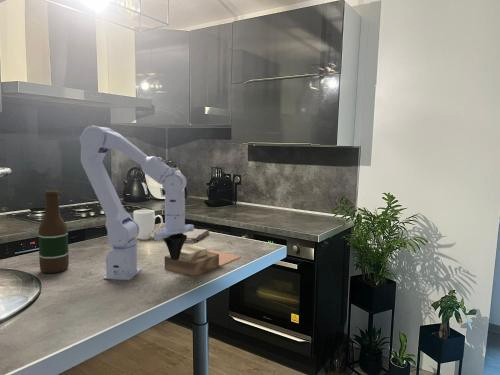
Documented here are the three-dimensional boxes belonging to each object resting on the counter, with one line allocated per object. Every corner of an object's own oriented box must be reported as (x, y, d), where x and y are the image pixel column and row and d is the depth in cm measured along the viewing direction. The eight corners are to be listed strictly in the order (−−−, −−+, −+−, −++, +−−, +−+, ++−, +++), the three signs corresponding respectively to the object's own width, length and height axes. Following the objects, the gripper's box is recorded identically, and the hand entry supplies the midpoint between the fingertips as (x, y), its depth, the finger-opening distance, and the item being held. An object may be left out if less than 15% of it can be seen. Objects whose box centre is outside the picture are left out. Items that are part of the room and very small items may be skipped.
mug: (130, 240, 146) (129, 212, 145) (139, 235, 154) (138, 208, 153) (158, 242, 144) (158, 213, 143) (166, 237, 153) (166, 210, 151)
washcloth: (165, 242, 145) (165, 235, 145) (184, 233, 163) (184, 226, 162) (193, 245, 143) (193, 237, 142) (209, 235, 160) (209, 228, 160)
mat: (220, 266, 117) (220, 265, 117) (189, 259, 124) (189, 257, 123) (241, 257, 127) (241, 256, 127) (211, 251, 134) (211, 250, 134)
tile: (189, 260, 109) (189, 254, 109) (175, 257, 112) (175, 250, 112) (206, 254, 116) (206, 248, 116) (192, 251, 119) (192, 245, 119)
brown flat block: (194, 277, 107) (194, 263, 106) (164, 268, 113) (164, 256, 113) (218, 266, 117) (219, 254, 116) (190, 259, 123) (190, 247, 123)
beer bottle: (74, 266, 113) (72, 190, 111) (55, 274, 106) (52, 192, 103) (54, 263, 115) (51, 188, 113) (33, 271, 108) (30, 191, 105)
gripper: (166, 219, 98) (166, 268, 100) (201, 212, 110) (201, 255, 112) (148, 216, 102) (148, 263, 103) (184, 209, 114) (184, 251, 116)
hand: (174, 259), depth 108 cm, fingers closed
